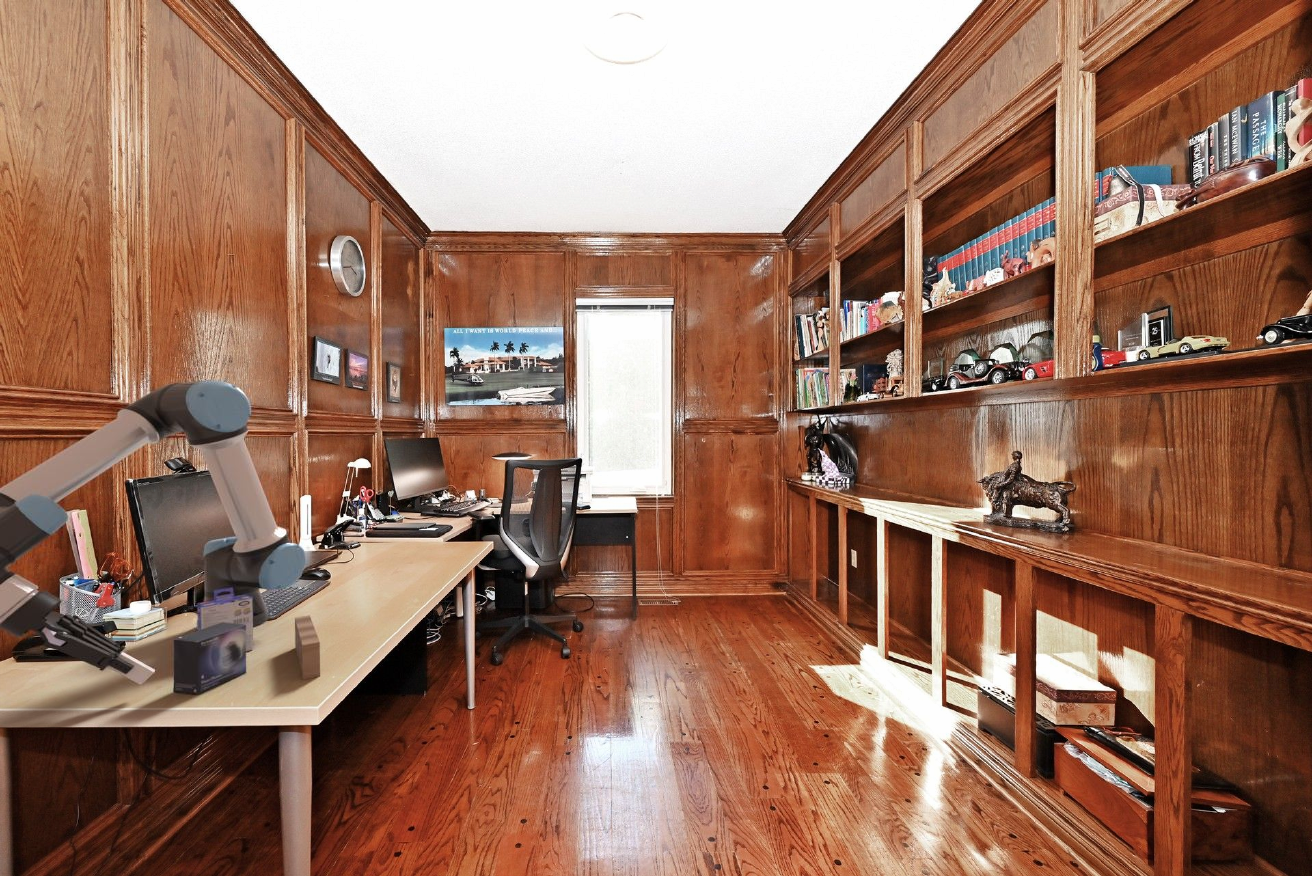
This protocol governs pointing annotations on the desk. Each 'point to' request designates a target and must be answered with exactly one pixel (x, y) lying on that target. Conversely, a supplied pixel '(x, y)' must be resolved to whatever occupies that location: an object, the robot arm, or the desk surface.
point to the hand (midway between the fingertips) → (148, 677)
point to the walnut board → (307, 647)
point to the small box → (209, 657)
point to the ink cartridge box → (228, 612)
